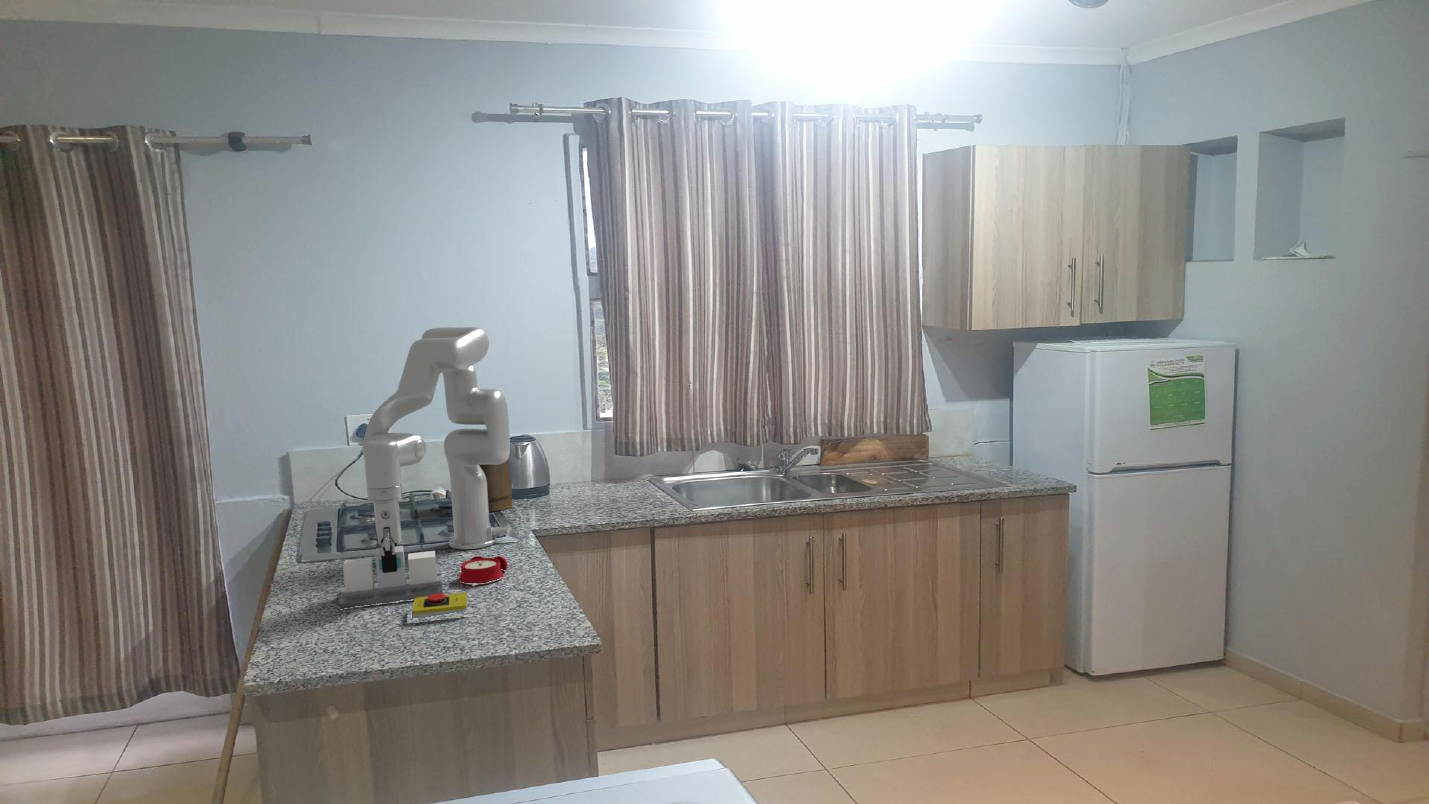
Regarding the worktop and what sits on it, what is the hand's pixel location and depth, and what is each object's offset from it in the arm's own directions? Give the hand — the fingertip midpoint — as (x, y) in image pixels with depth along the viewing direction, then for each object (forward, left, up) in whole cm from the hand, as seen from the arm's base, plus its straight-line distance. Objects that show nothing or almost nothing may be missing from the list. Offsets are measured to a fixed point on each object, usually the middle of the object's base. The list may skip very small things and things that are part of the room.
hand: (390, 565), depth 223 cm
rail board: (0, 0, -7) cm, 7 cm away
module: (0, 0, -4) cm, 4 cm away
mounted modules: (0, 0, -4) cm, 4 cm away
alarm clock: (-21, -5, -7) cm, 23 cm away
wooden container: (-27, -77, -7) cm, 82 cm away
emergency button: (-11, +17, -8) cm, 22 cm away
